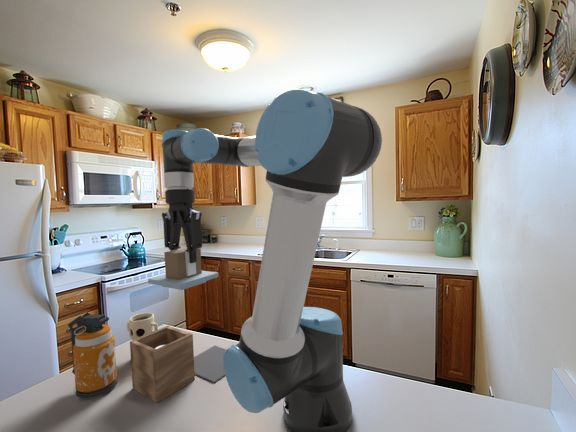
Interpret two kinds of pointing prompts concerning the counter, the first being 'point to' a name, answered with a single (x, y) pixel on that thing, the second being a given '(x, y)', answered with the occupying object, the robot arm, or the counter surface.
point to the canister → (93, 356)
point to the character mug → (141, 325)
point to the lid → (181, 272)
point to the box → (162, 362)
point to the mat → (210, 364)
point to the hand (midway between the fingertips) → (184, 273)
